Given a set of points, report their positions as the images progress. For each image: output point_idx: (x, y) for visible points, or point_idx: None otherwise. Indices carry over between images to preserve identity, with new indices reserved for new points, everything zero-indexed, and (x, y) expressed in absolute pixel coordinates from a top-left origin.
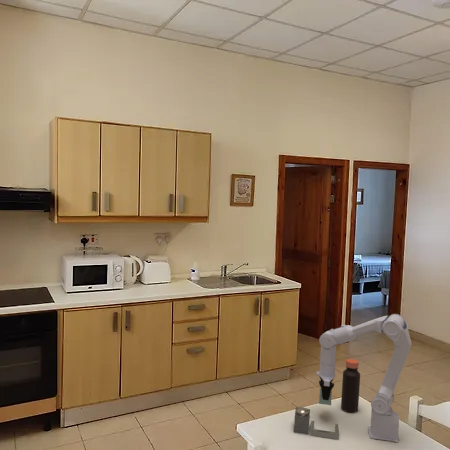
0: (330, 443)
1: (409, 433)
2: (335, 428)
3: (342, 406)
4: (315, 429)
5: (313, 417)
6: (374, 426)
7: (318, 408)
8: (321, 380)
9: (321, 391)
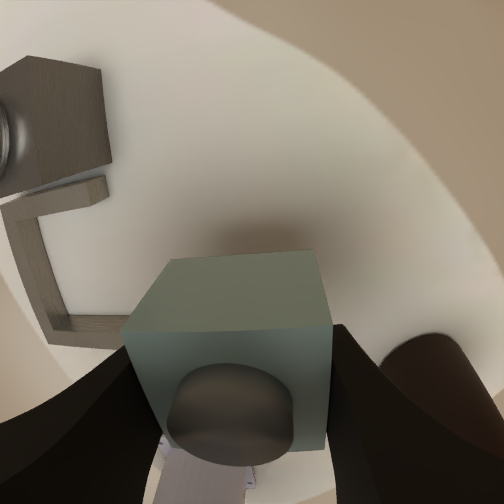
0: (21, 293)
1: (260, 501)
2: (83, 333)
3: (410, 356)
4: (15, 230)
5: (228, 171)
6: (163, 476)
7: (392, 196)
8: (367, 489)
9: (215, 358)
